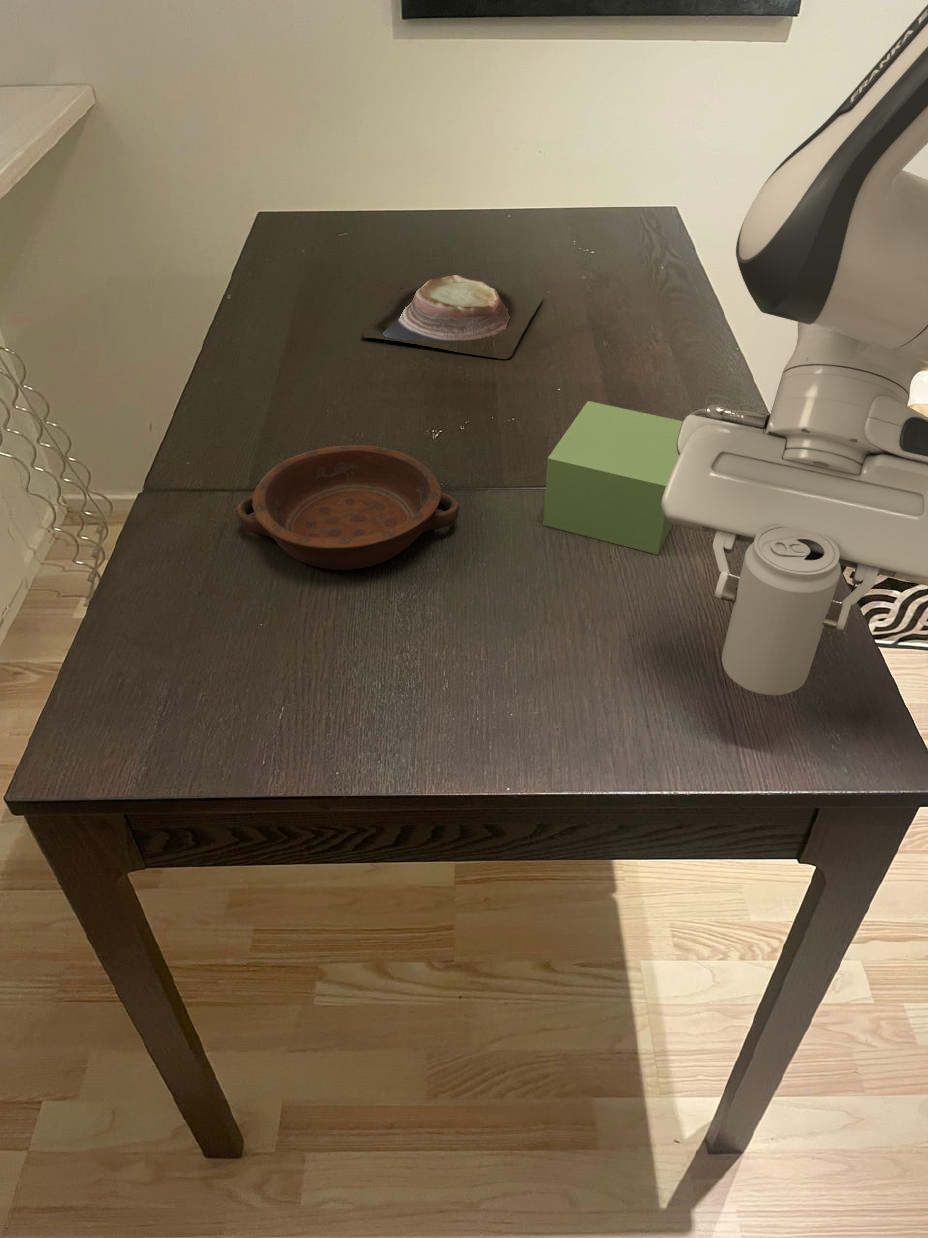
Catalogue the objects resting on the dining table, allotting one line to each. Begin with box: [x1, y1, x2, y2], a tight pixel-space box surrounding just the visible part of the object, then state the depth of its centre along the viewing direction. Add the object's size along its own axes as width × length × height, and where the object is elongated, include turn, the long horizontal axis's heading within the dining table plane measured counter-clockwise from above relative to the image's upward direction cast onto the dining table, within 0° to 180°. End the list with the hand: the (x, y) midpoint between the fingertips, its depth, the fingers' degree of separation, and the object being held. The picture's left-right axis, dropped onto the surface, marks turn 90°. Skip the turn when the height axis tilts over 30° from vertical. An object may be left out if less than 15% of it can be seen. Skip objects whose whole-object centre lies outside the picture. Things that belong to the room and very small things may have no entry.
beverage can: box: [721, 524, 842, 696], centre depth 69 cm, size 6×6×12 cm
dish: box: [236, 444, 460, 571], centre depth 94 cm, size 18×22×5 cm
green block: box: [542, 400, 684, 556], centre depth 96 cm, size 12×12×8 cm
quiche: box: [383, 274, 510, 342], centre depth 131 cm, size 21×20×4 cm
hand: (778, 613), depth 68 cm, fingers closed on beverage can, 6 cm apart
